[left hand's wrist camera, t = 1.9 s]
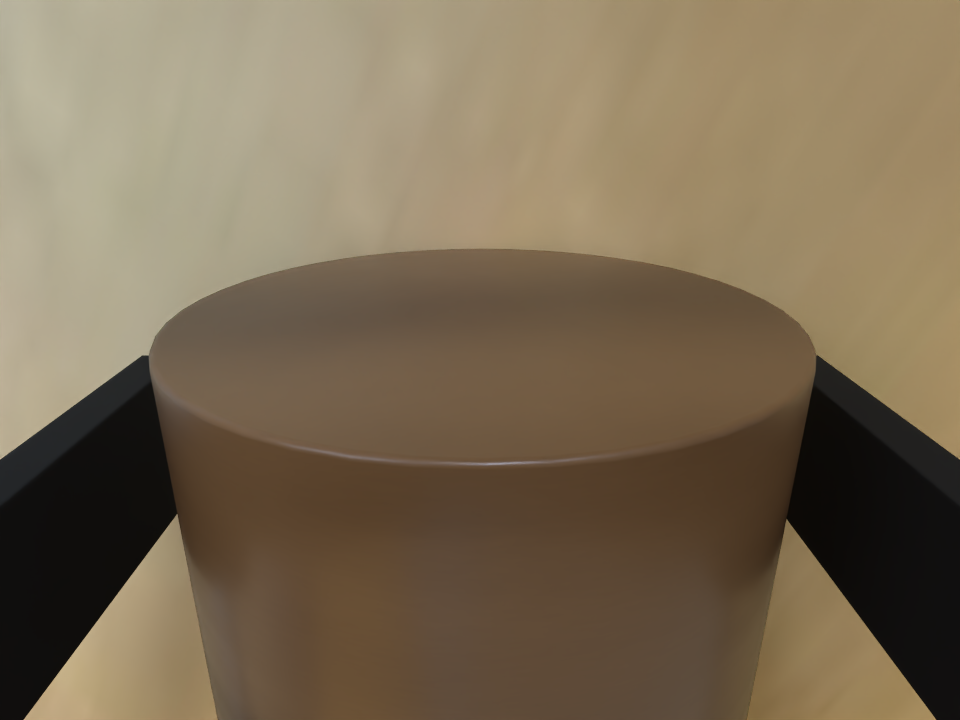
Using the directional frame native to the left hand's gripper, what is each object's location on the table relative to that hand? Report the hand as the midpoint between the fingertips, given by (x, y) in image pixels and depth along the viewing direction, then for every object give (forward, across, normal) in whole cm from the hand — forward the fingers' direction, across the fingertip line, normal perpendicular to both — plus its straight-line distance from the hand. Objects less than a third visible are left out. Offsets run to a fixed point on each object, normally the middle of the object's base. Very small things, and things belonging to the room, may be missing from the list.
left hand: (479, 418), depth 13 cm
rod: (+1, 0, -10) cm, 10 cm away
